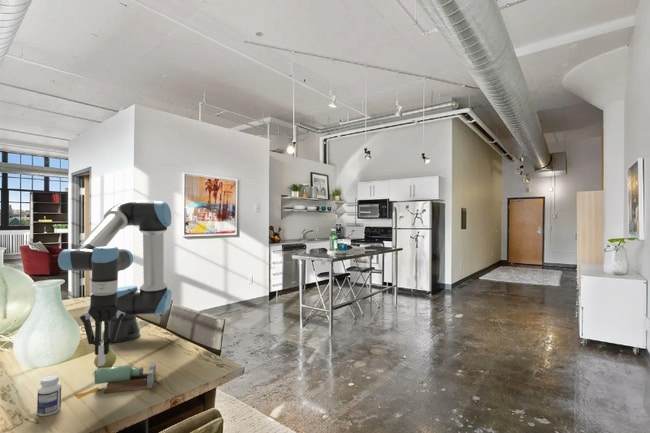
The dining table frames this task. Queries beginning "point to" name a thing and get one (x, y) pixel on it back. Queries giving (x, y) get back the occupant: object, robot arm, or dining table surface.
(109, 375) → the bottle
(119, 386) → the cradle
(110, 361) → the fruit
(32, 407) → the dining table surface
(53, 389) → the pill bottle
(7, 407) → the dining table surface
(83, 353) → the dining table surface
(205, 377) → the dining table surface
